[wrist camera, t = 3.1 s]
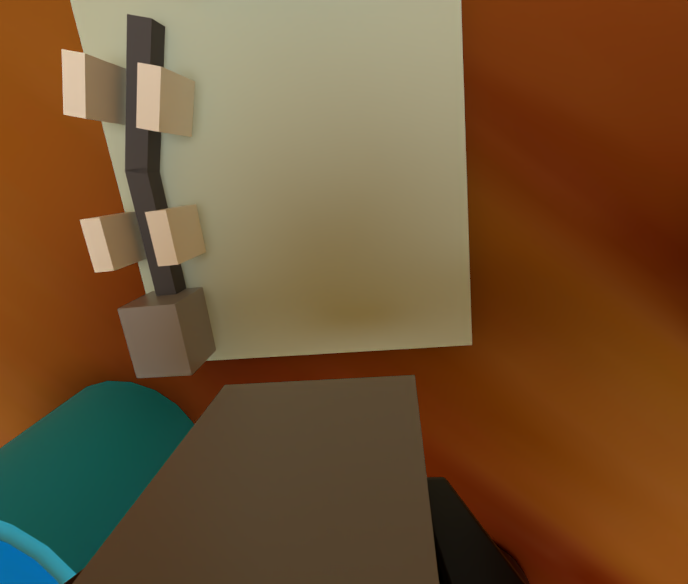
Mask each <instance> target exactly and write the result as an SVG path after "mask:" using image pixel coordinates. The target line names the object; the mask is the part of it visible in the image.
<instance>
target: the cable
mask: <svg viewBox="0 0 688 584" xmlns="http://www.w3.org/2000/svg"><path fill="white" fill-rule="evenodd" d="M164 46H165V26H163V25H162V24H160V23H158V22H157V21H155V20H154V19H152V18H147V17H142V16H136V15H130V14H127V47H126V123H125V174H126V178H127V182H128V186H129V190H130V194H131V198H132V202H133V205H134V209H135V213H136V217H137V221H138V225H139V229H140V233H141V237H142V241H143V245H144V249H145V253H146V257H147V261H148V265H149V269H150V273H151V277H152V281H153V285H154V289H155V293H156V296H162V295H174V294H177V293H179V292H181V291H183V290H184V289H186V284H185V280H184V276H183V271H182V267H181V264H179V265H169V266H159V267H158V264H157V260H156V256H155V252H154V248H153V243H152V239H151V235H150V231H149V227H148V223H147V219H146V215H145V212H149V211H155V210H160V209H166V208H168V206H167V201H166V197H165V193H164V188H163V184H162V180H161V175H160V151H161V132H156V131H151V130H146V129H140V128H136V113H137V64H138V62H139V63H144V64H150V65H156V66H161V67H163V68H164Z"/></svg>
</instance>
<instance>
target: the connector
mask: <svg viewBox="0 0 688 584" xmlns="http://www.w3.org/2000/svg"><path fill="white" fill-rule="evenodd" d="M72 584H439V578H438V570H437V561H436V553H435V544H434V536H433V527H432V518H431V510H430V501H429V493H428V484H427V476H426V467H425V459H424V450H423V441H422V433H421V424H420V416H419V407H418V399H417V390H416V382H415V375H405V376H386V377H367V378H348V379H329V380H310V381H290V382H271V383H252V384H233V385H224V387H223V388H222V389H221V391H220V392H219V393H218V394H217V396H216V397H215V398H214V400H213V401H212V402H211V404H210V405H209V406H208V408H207V409H206V410H205V411H204V413H203V414H202V415H201V417H200V418H199V419H198V421H197V422H196V423H195V424H194V426H193V427H192V428H191V430H190V431H189V432H188V434H187V435H186V436H185V437H184V439H183V440H182V441H181V443H180V444H179V445H178V447H177V448H176V449H175V451H174V452H173V453H172V454H171V456H170V457H169V458H168V460H167V461H166V462H165V464H164V465H163V466H162V467H161V469H160V470H159V471H158V473H157V474H156V475H155V477H154V478H153V479H152V481H151V482H150V483H149V484H148V486H147V487H146V488H145V490H144V491H143V492H142V494H141V495H140V496H139V497H138V499H137V500H136V501H135V503H134V504H133V505H132V507H131V508H130V509H129V510H128V512H127V513H126V514H125V516H124V517H123V518H122V520H121V521H120V522H119V524H118V525H117V526H116V527H115V529H114V530H113V531H112V533H111V534H110V535H109V537H108V538H107V539H106V540H105V542H104V543H103V544H102V546H101V547H100V548H99V550H98V551H97V552H96V553H95V555H94V556H93V557H92V559H91V560H90V561H89V563H88V564H87V565H86V567H85V568H84V569H83V570H82V572H81V573H80V574H79V576H78V577H77V578H76V580H75V581H74V582H73V583H72Z"/></svg>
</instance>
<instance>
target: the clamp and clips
mask: <svg viewBox="0 0 688 584" xmlns="http://www.w3.org/2000/svg"><path fill="white" fill-rule="evenodd" d="M62 79H63V113H64V115H69V116H74V117H80V118H85V119H91V120H97V121H103V122H110V123H116V124H122V125H125V123H126V69H125V68H123V67H120V66H117V65H115V64H112V63H109V62H107V61H104V60H101V59H99V58H96V57H93V56H91V55H88V54H85V53H80V52H75V51H69V50H64V49H62ZM194 91H195V81H193V80H191V79H188V78H186V77H184V76H182V75H179V74H177V73H175V72H173V71H170V70H168V69H166V68H163V67H161V66H156V65H150V64H144V63H139V62H138V64H137V113H136V128H140V129H146V130H151V131H156V132H162V133H169V134H175V135H182V136H188V137H192V124H193V107H194ZM145 215H146V219H147V223H148V227H149V231H150V235H151V239H152V243H153V248H154V252H155V256H156V260H157V264H158V267H159V266H169V265H179V264H181V263H183V262H185V261H187V260H190V259H192V258H194V257H196V256H199V255H201V254H203V253H205V252H206V249H205V244H204V239H203V234H202V230H201V225H200V220H199V215H198V211H197V206H196V204H194V205H185V206H177V207H171V208H166V209H160V210H155V211H149V212H145ZM80 223H81V226H82V230H83V233H84V237H85V240H86V244H87V247H88V251H89V254H90V257H91V261H92V264H93V268H94V271H95V272H106V271H115V270H117V269H120V268H123V267H125V266H128V265H131V264H134V263H136V262H139V261H142V260H145V259H147V257H146V253H145V249H144V245H143V241H142V237H141V233H140V229H139V225H138V221H137V217H136V213H135V211H133V212H125V213H118V214H111V215H105V216H99V217H93V218H87V219H81V220H80ZM117 310H118V313H119V317H120V320H121V324H122V327H123V331H124V334H125V338H126V342H127V345H128V349H129V352H130V356H131V359H132V363H133V367H134V370H135V374H136V377H137V378H151V377H169V376H187V375H193V374H194V373H195V371H196V370H197V369H198V368H199V367H200V366H201V365H202V364H203V363H204V362H205V361H206V360H207V359H208V358H209V357H210V356H211V355H212V354H213V353H214V352H215V351H216V347H215V342H214V338H213V333H212V328H211V324H210V319H209V315H208V310H207V305H206V301H205V296H204V292H203V287H196V288H186V289H184V290H183V291H181V292H179V293H177V294H174V295H162V296H156V293H155V291H151V292H149V293H147V294H145V295H143V296H141V297H140V298H138V299H136V300H134V301H132V302H130V303H128V304H126V305H124V306H122V307H120V308H118V309H117Z"/></svg>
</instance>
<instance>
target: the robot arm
mask: <svg viewBox="0 0 688 584" xmlns="http://www.w3.org/2000/svg"><path fill="white" fill-rule="evenodd" d="M427 484H428V493H429V501H430V510H431V518H432V527H433V536H434V544H435V553H436V561H437V570H438V578H439V584H525V582H524V581H523V580H522V578H521V577H520V576H519V574H518V573H517V572H516V570H515V569H514V568H513V566H512V565H511V564H510V562H509V561H508V560H507V559H506V557H505V556H504V555H503V553H502V552H501V551H500V549H499V548H498V547H497V545H496V544H495V543H494V541H493V540H492V539H491V537H490V536H489V535H488V533H487V532H486V531H485V529H484V528H483V527H482V526H481V524H480V523H479V522H478V520H477V519H476V518H475V516H474V515H473V514H472V512H471V511H470V510H469V508H468V507H467V506H466V504H465V503H464V502H463V500H462V499H461V498H460V496H459V495H458V494H457V493H456V491H455V490H454V489H453V487H452V486H451V485H450V483H449V482H448V481H447V480H446V479H445V478H444V477H427ZM82 570H83V569H82ZM82 570H81V571H80V572H78V573H77V574H76V575H74V576H73V577H72V578H71V579H69V580H68V581H67V582H65V583H64V584H72V583H73V582H74V581H75V580H76V578H77V577H78V576H79V574H80V573H81V572H82Z"/></svg>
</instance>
